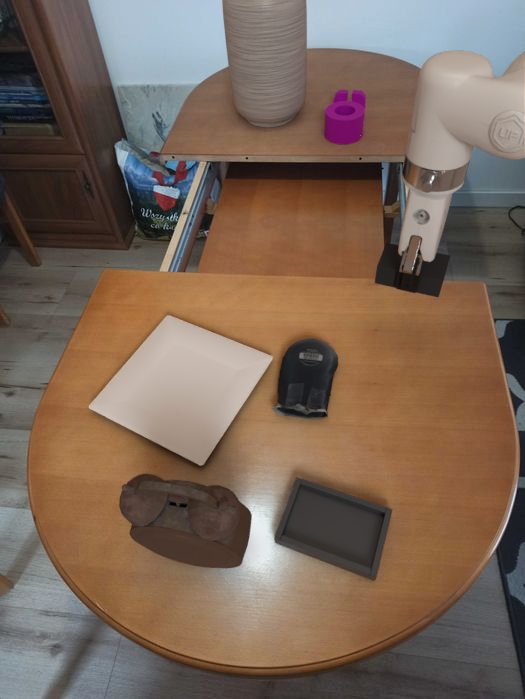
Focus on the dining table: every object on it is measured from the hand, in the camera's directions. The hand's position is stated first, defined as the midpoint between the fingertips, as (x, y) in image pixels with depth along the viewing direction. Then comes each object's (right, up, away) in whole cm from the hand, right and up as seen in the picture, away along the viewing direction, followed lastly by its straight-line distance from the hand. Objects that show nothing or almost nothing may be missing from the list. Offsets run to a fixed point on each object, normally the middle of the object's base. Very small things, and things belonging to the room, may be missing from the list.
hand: (410, 274), depth 75 cm
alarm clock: (-30, -38, -7) cm, 49 cm away
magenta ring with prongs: (0, +47, +57) cm, 74 cm away
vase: (-20, +54, +64) cm, 86 cm away
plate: (-35, -18, +9) cm, 41 cm away
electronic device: (-15, -17, +8) cm, 24 cm away
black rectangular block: (0, 0, +1) cm, 1 cm away
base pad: (-13, -36, -7) cm, 39 cm away
